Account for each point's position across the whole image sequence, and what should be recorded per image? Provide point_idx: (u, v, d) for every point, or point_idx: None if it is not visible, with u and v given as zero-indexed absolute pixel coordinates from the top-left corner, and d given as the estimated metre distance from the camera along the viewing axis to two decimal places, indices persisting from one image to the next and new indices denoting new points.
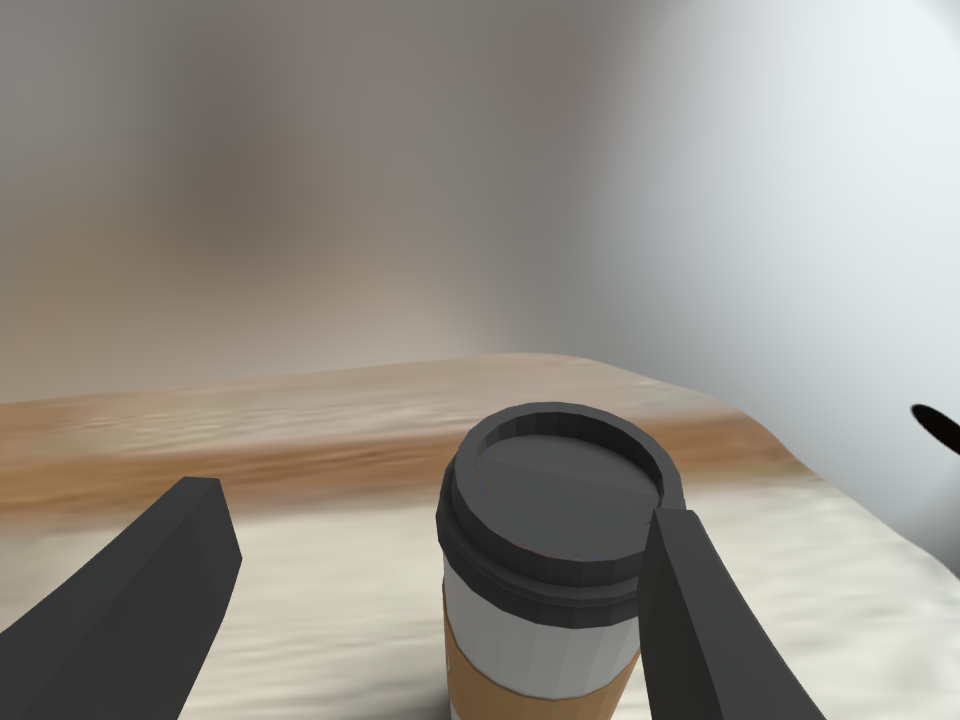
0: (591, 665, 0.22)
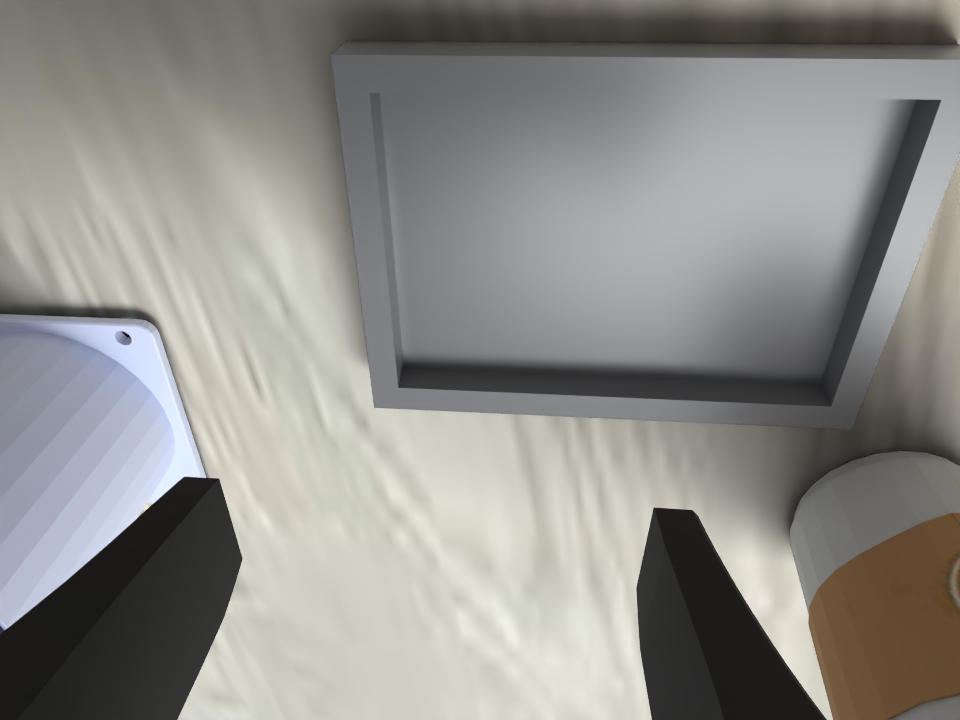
0: None
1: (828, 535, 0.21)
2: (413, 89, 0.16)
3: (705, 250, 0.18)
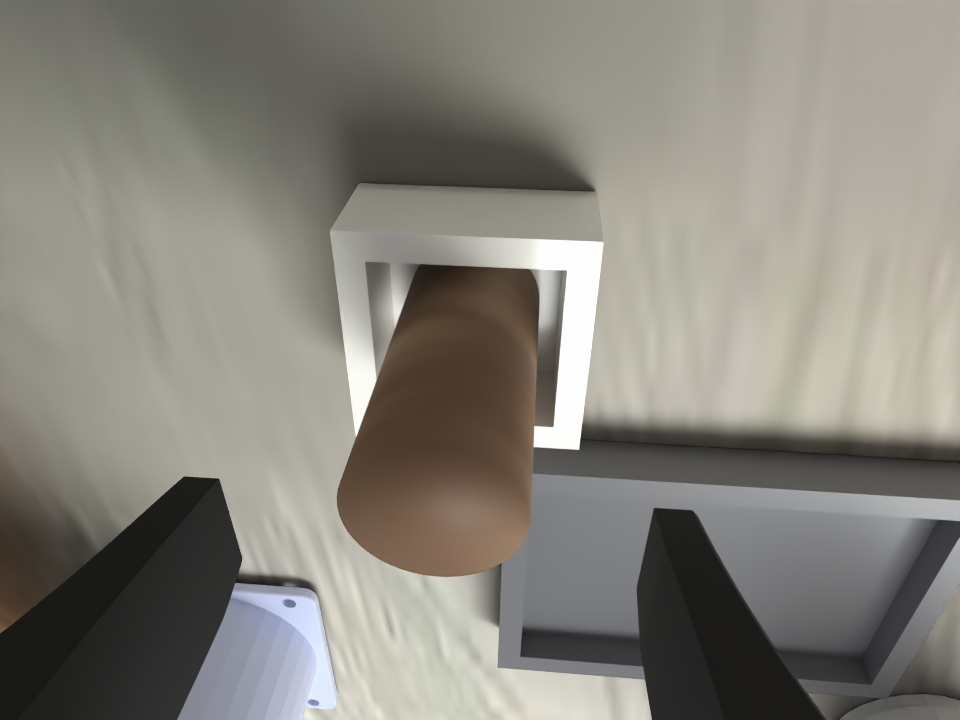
0: None
1: None
2: (566, 493, 0.20)
3: (777, 576, 0.23)
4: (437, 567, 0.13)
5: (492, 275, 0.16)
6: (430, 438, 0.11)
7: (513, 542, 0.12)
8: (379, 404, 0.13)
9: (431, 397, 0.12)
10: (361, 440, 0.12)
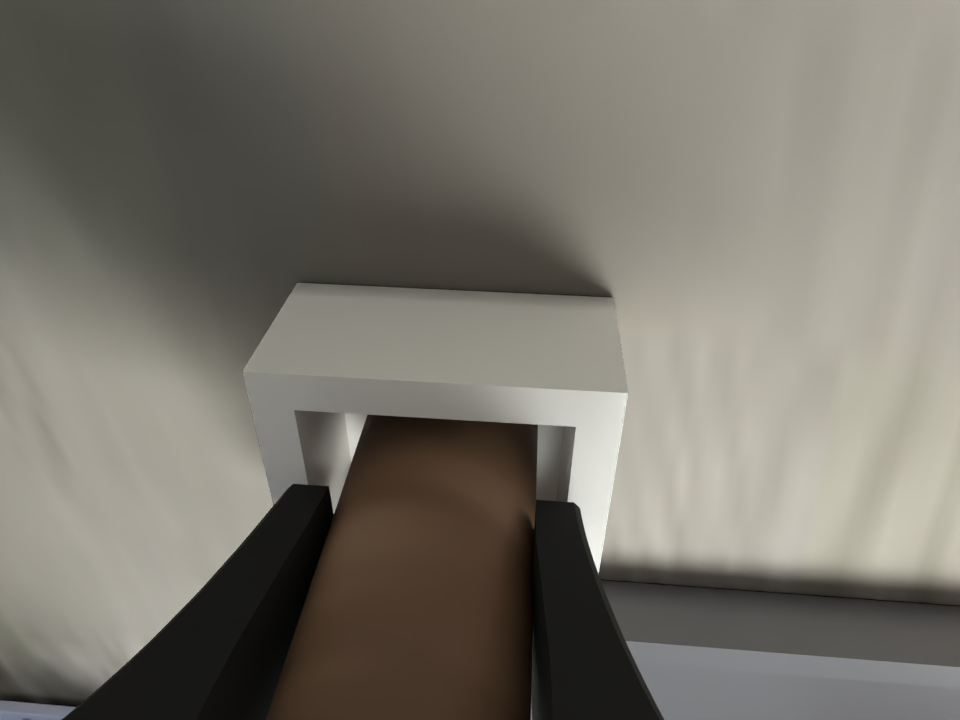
0: None
1: None
2: None
3: None
4: None
5: None
6: None
7: None
8: (298, 675, 0.08)
9: (373, 684, 0.08)
10: None
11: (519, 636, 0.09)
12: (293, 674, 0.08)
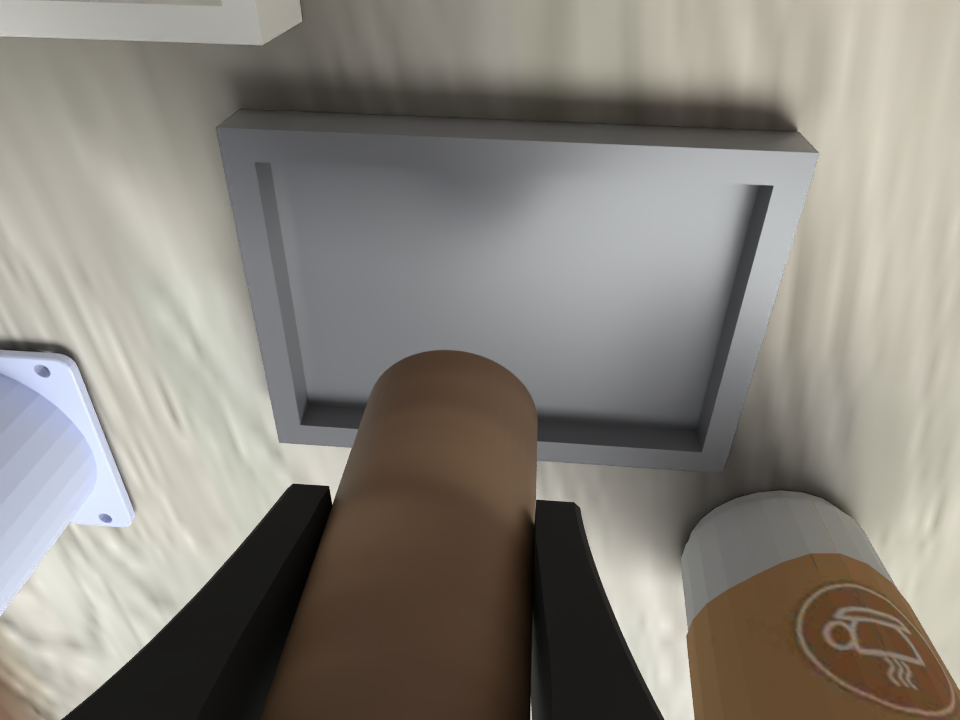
0: None
1: (705, 570, 0.23)
2: (294, 160, 0.17)
3: (580, 307, 0.20)
4: None
5: (467, 410, 0.12)
6: None
7: None
8: (289, 669, 0.08)
9: (361, 674, 0.08)
10: None
11: (515, 623, 0.09)
12: (285, 668, 0.08)
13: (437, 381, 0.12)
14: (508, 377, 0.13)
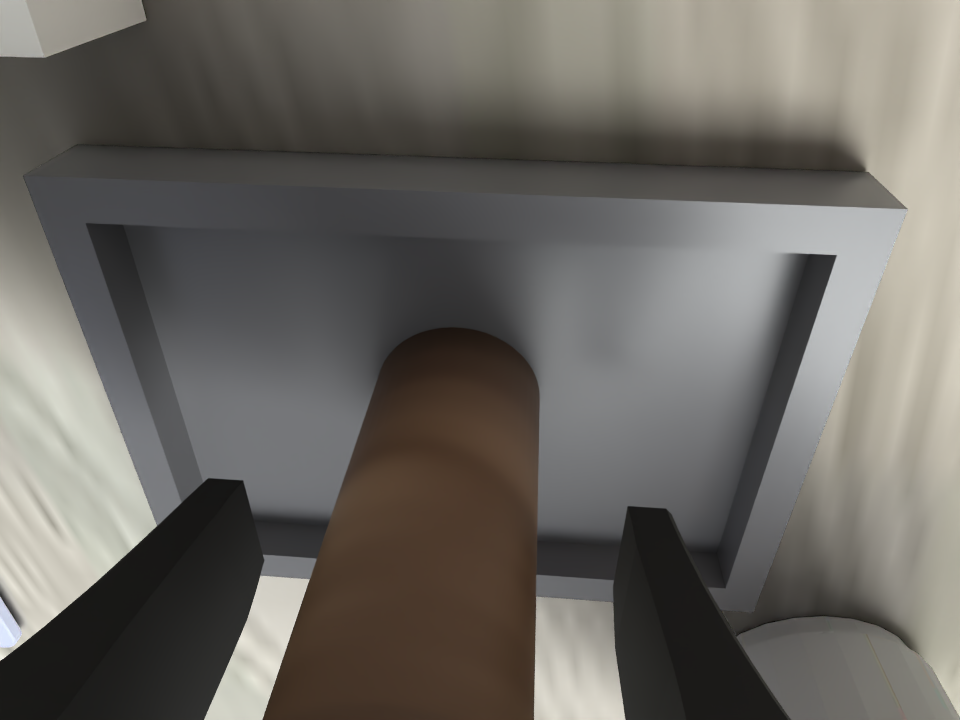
0: None
1: None
2: (141, 220, 0.12)
3: (560, 405, 0.14)
4: None
5: (474, 381, 0.12)
6: (373, 698, 0.07)
7: None
8: (312, 610, 0.09)
9: (380, 611, 0.08)
10: (283, 678, 0.08)
11: (520, 573, 0.10)
12: (308, 611, 0.09)
13: (445, 355, 0.13)
14: (512, 353, 0.14)
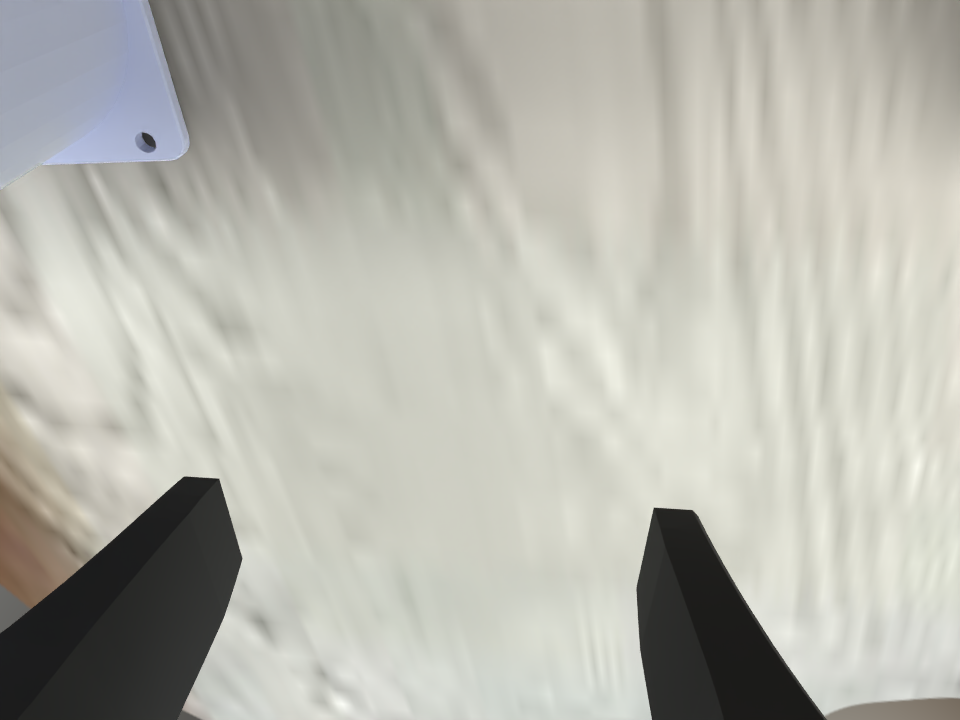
0: None
1: None
2: None
3: None
4: None
5: None
6: None
7: None
8: None
9: None
10: None
11: None
12: None
13: None
14: None
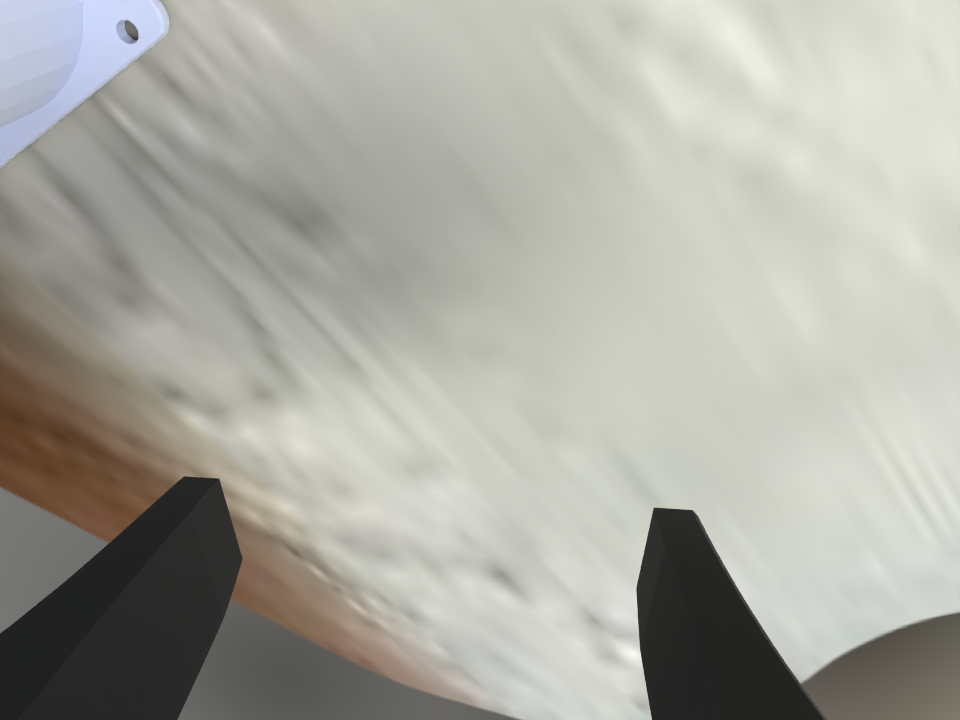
0: None
1: None
2: None
3: None
4: None
5: None
6: None
7: None
8: None
9: None
10: None
11: None
12: None
13: None
14: None
